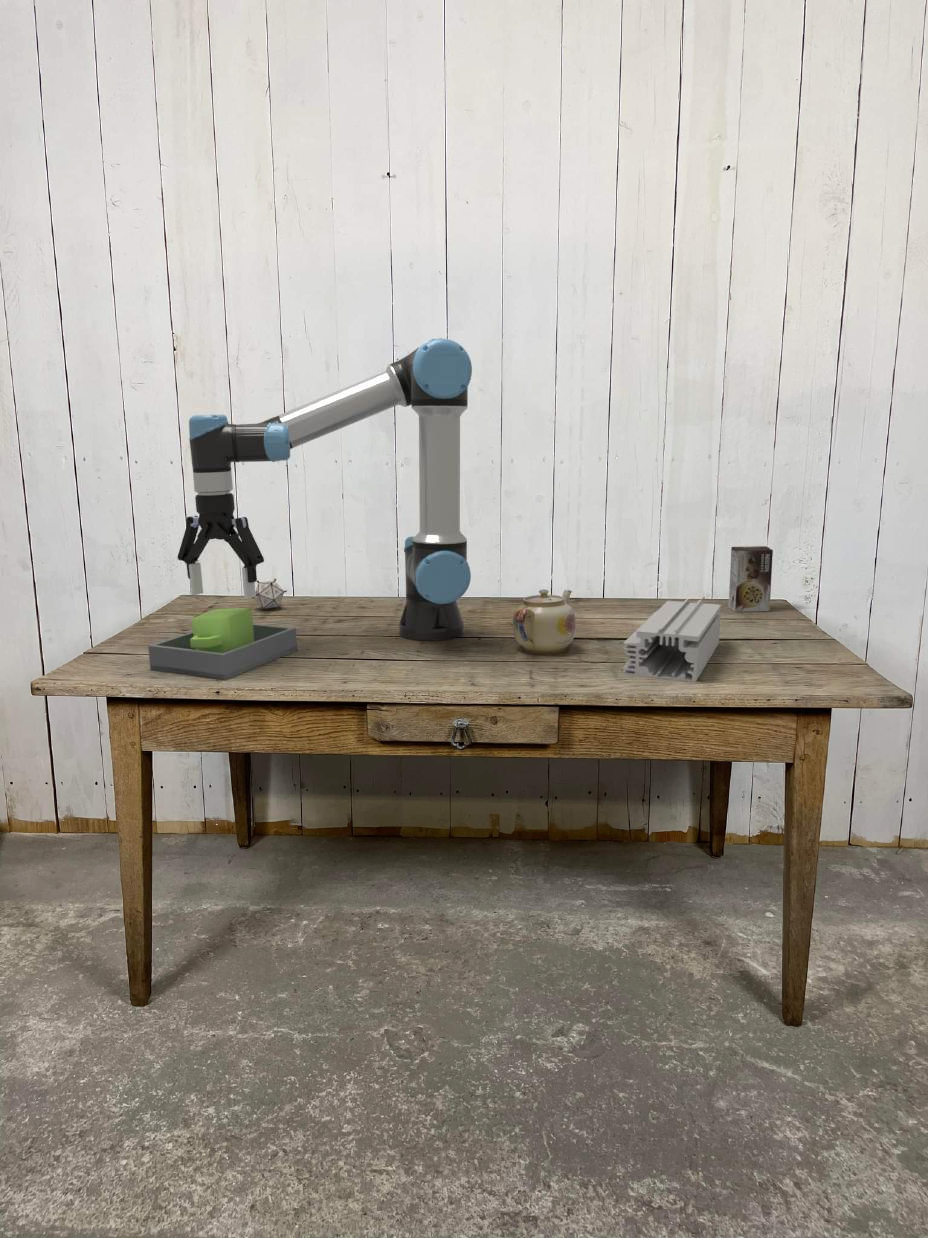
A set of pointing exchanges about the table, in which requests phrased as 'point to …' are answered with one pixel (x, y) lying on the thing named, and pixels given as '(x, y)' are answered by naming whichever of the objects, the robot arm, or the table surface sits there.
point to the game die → (269, 594)
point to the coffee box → (750, 578)
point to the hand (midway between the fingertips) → (223, 596)
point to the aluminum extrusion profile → (674, 641)
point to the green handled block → (222, 630)
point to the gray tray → (222, 654)
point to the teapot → (544, 623)
